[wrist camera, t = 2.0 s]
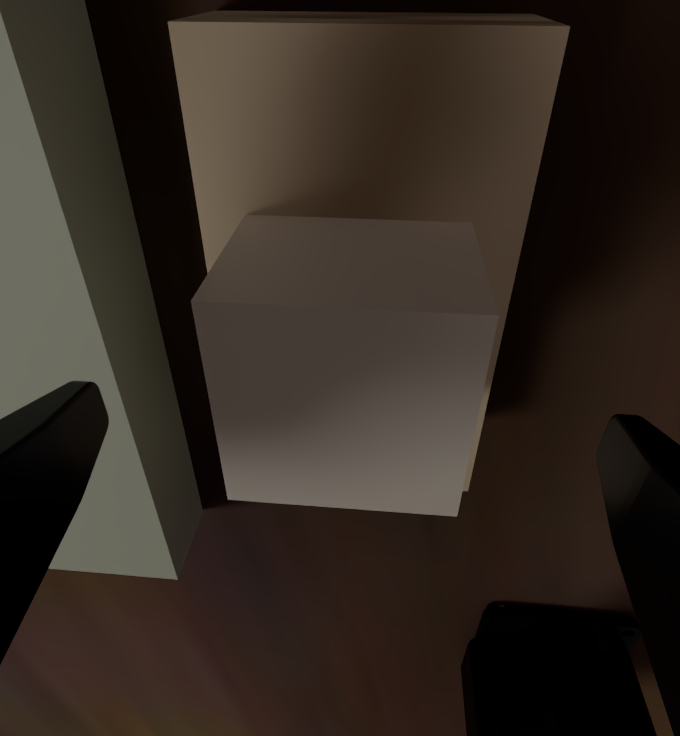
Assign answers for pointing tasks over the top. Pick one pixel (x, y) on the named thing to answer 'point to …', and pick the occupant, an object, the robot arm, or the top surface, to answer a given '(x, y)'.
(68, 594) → the top surface
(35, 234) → the dock
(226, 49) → the tall tan box
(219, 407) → the box
